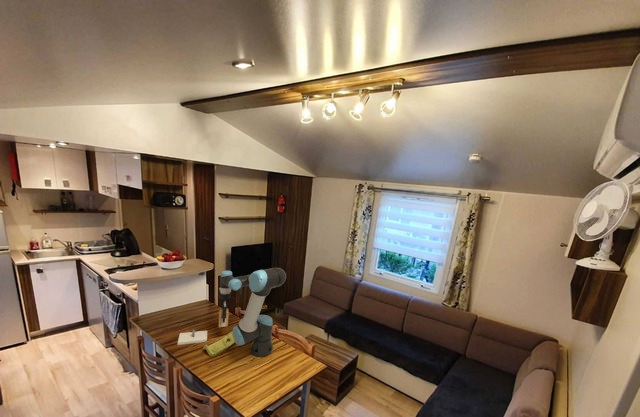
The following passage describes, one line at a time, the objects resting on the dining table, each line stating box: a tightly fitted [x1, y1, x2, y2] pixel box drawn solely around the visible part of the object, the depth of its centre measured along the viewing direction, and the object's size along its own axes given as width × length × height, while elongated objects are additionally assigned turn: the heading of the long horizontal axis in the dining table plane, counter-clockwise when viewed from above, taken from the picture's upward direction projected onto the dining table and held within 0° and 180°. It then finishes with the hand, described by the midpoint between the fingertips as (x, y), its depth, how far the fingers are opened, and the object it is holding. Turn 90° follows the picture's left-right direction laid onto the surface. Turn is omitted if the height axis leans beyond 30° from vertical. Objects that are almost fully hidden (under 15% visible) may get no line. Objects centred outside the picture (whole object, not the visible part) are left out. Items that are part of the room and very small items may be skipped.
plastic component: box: [202, 331, 235, 357], centre depth 175 cm, size 20×7×10 cm
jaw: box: [218, 308, 229, 328], centre depth 187 cm, size 7×6×10 cm
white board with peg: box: [177, 329, 208, 346], centre depth 182 cm, size 12×18×6 cm, turn 111°
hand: (223, 323), depth 188 cm, fingers closed on jaw, 7 cm apart
